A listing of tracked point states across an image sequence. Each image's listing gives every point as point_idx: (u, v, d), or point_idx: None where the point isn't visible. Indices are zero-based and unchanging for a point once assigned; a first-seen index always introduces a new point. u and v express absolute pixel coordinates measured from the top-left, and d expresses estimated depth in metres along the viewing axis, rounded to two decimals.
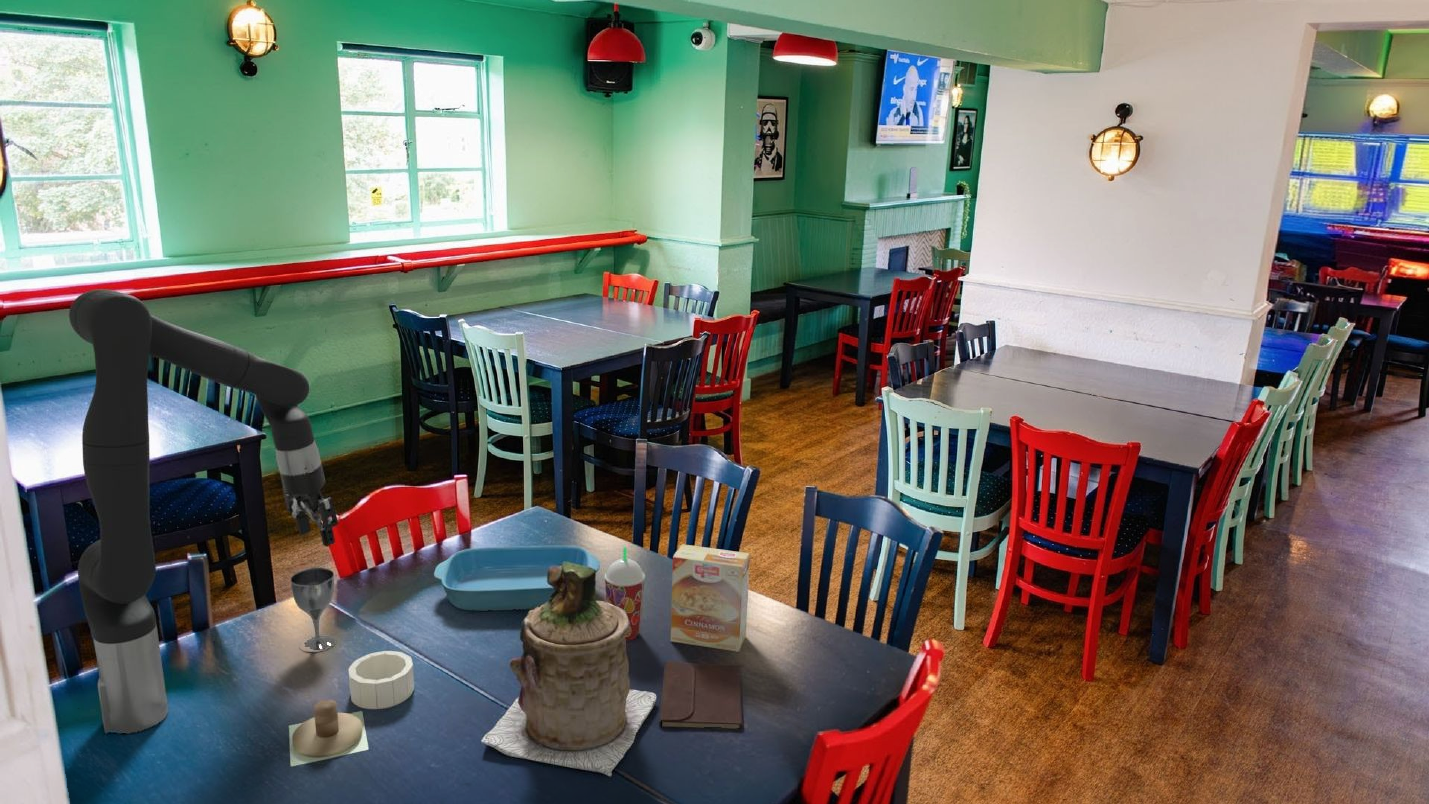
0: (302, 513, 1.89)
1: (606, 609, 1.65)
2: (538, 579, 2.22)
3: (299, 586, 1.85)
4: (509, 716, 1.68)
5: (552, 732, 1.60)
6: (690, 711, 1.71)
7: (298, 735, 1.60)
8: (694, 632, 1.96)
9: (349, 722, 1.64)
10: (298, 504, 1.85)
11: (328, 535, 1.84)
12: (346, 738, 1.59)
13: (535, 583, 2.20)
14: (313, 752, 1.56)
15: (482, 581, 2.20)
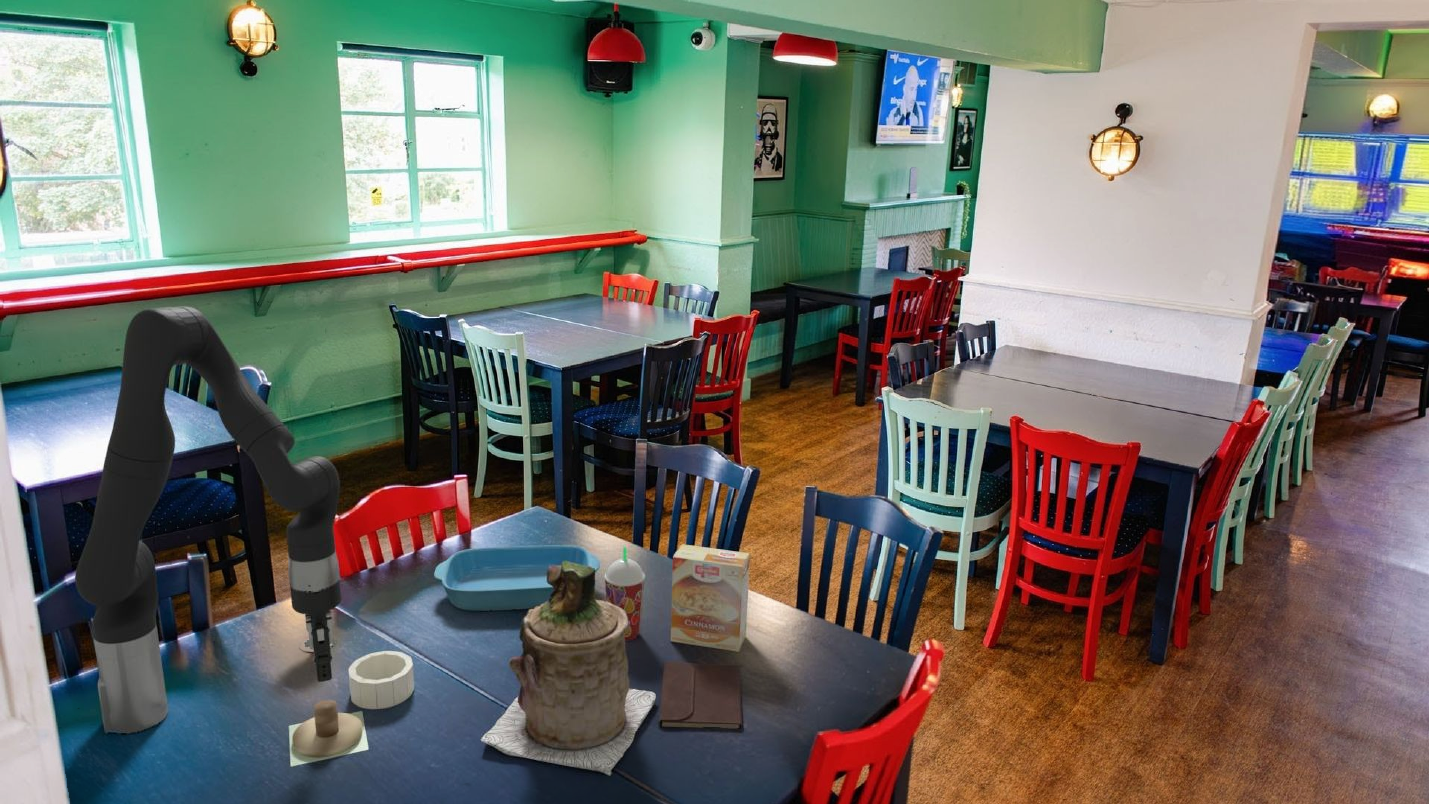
0: None
1: (605, 608, 1.66)
2: (538, 579, 2.22)
3: None
4: (509, 716, 1.68)
5: (551, 731, 1.60)
6: (690, 711, 1.71)
7: (298, 735, 1.60)
8: (694, 632, 1.96)
9: (349, 722, 1.64)
10: None
11: (321, 670, 1.53)
12: (346, 738, 1.59)
13: (535, 583, 2.20)
14: (313, 752, 1.56)
15: (482, 581, 2.20)
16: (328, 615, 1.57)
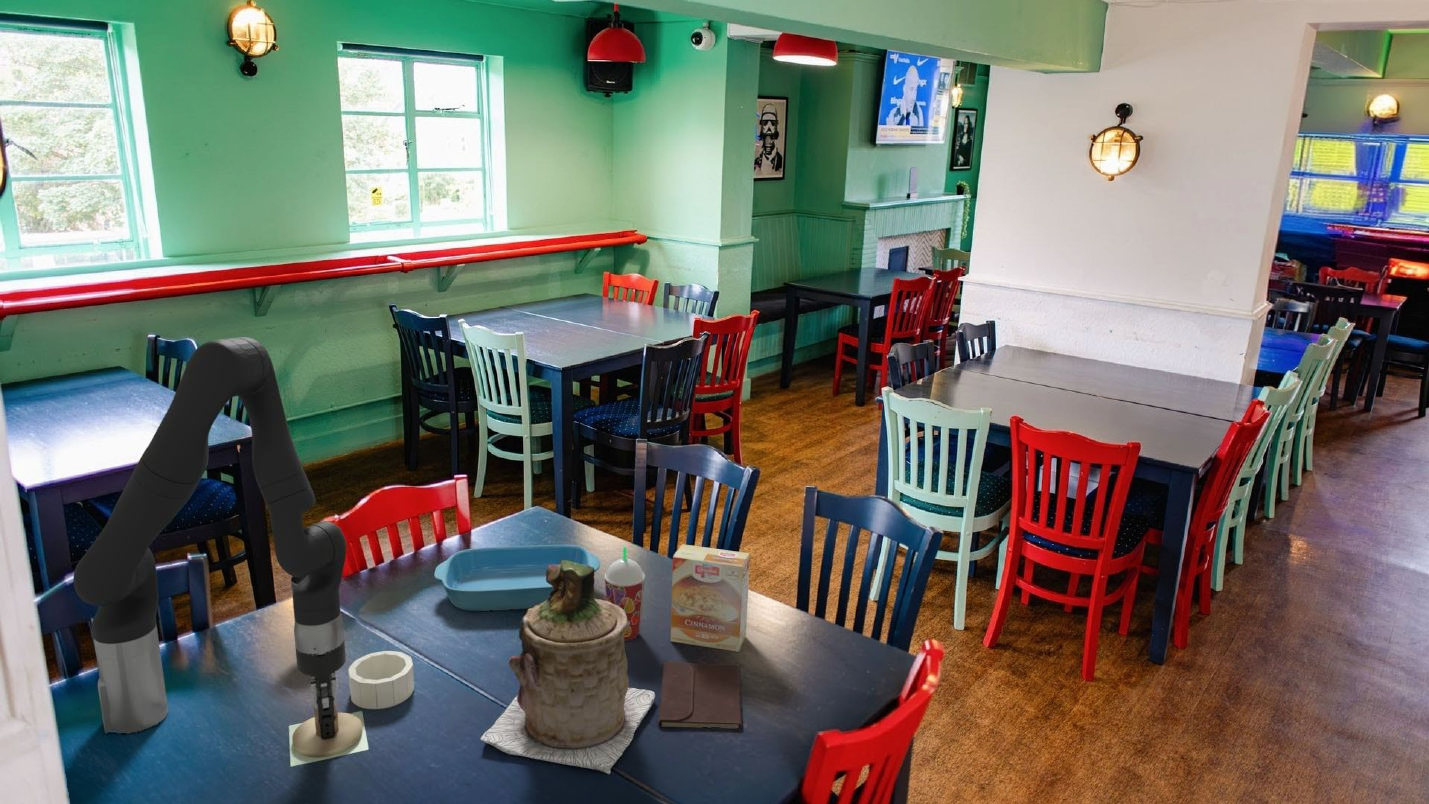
0: None
1: (605, 607, 1.66)
2: (538, 578, 2.22)
3: None
4: (508, 715, 1.69)
5: (550, 730, 1.61)
6: (689, 711, 1.71)
7: (298, 735, 1.60)
8: (694, 632, 1.96)
9: (349, 722, 1.64)
10: None
11: (325, 728, 1.58)
12: (346, 738, 1.59)
13: (535, 582, 2.20)
14: (313, 752, 1.56)
15: (482, 581, 2.20)
16: (332, 674, 1.60)
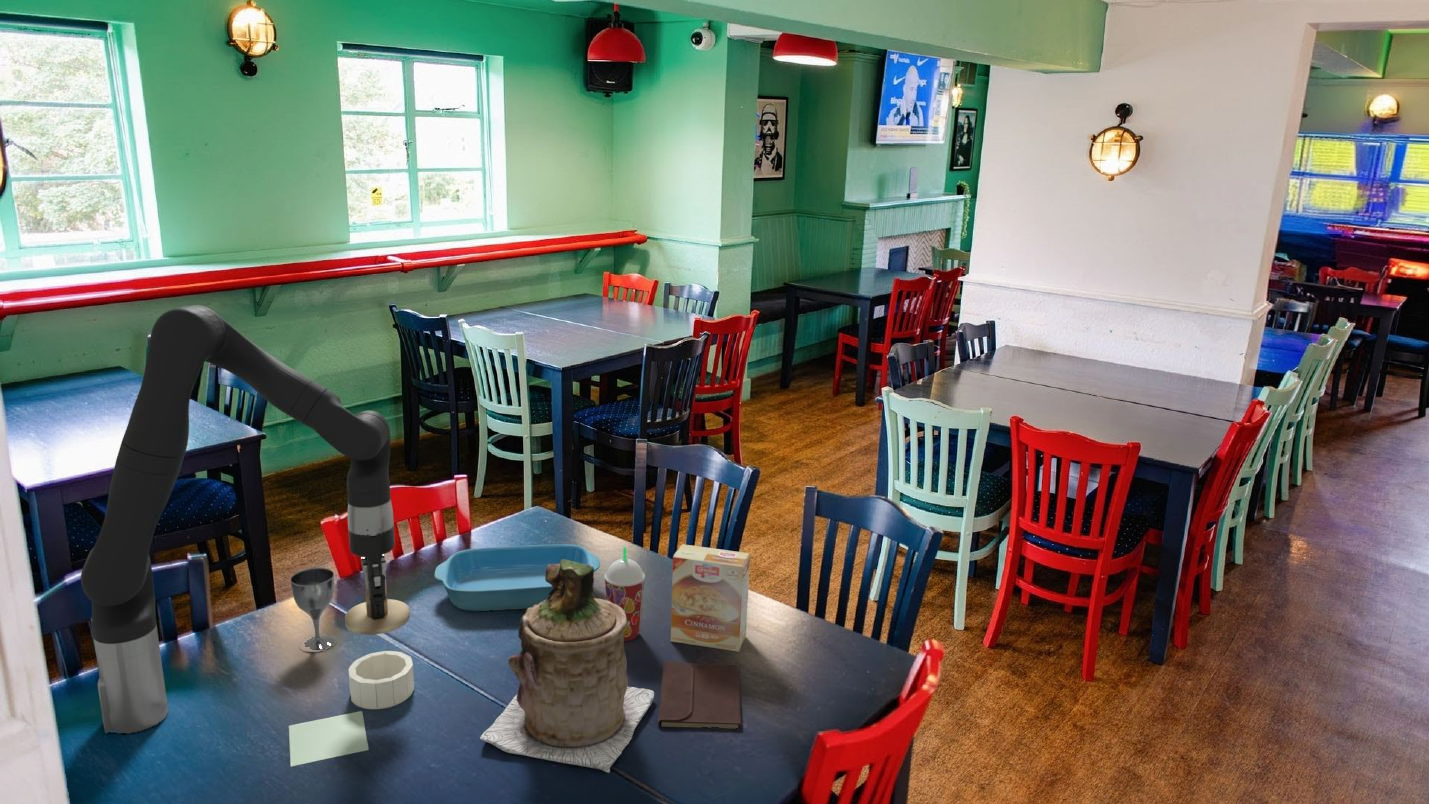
0: None
1: (604, 606, 1.66)
2: (537, 578, 2.22)
3: (299, 586, 1.85)
4: (508, 714, 1.69)
5: (550, 729, 1.61)
6: (689, 711, 1.71)
7: (350, 616, 1.69)
8: (694, 632, 1.96)
9: (397, 606, 1.73)
10: None
11: (375, 608, 1.67)
12: (395, 618, 1.69)
13: (535, 582, 2.20)
14: (365, 629, 1.66)
15: (481, 581, 2.20)
16: (382, 558, 1.69)
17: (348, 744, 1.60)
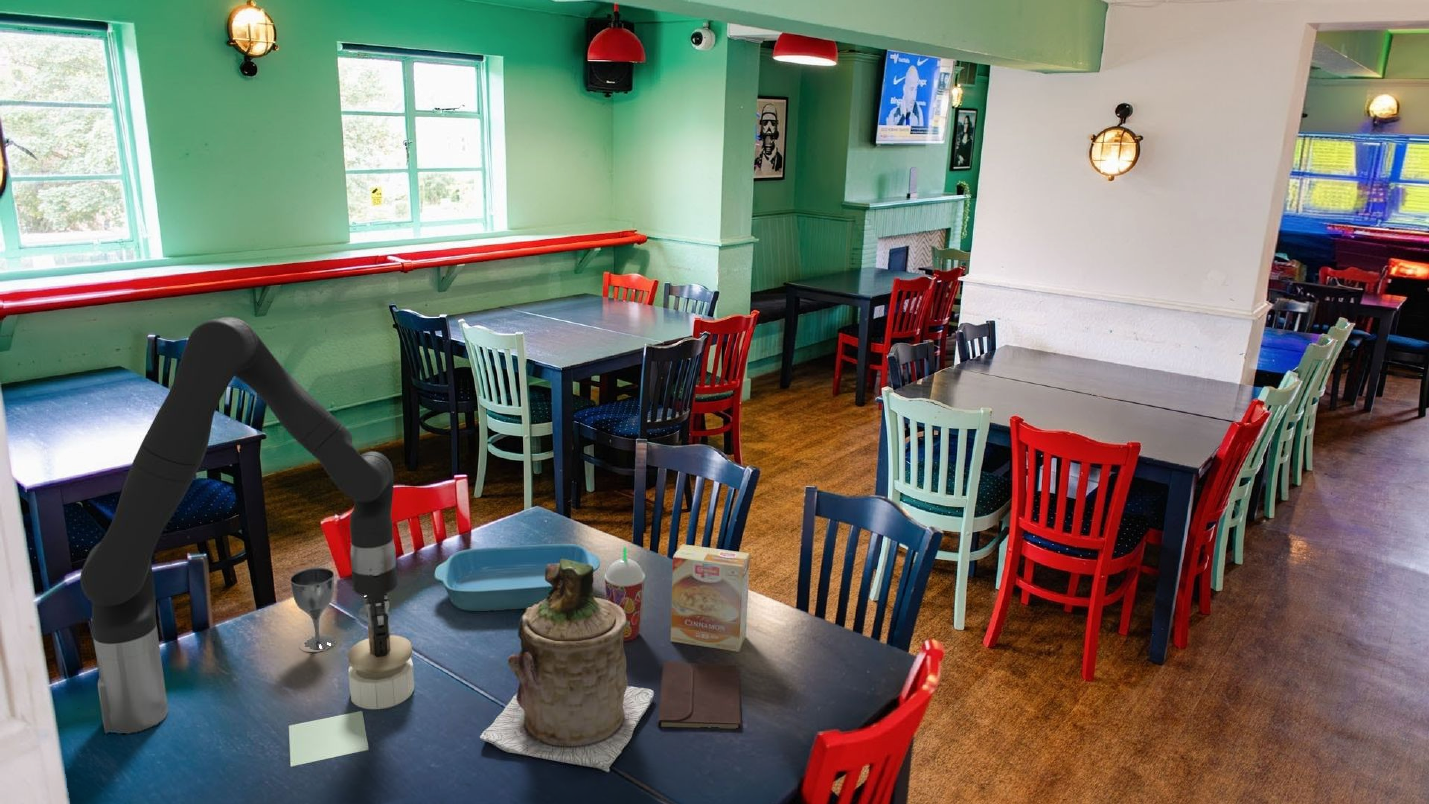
0: None
1: (604, 606, 1.67)
2: (537, 578, 2.22)
3: (299, 586, 1.85)
4: (507, 713, 1.69)
5: (550, 728, 1.61)
6: (689, 711, 1.71)
7: (353, 653, 1.72)
8: (694, 632, 1.96)
9: (399, 643, 1.76)
10: None
11: (378, 646, 1.69)
12: (398, 656, 1.71)
13: (535, 582, 2.20)
14: (368, 667, 1.68)
15: (481, 581, 2.20)
16: (384, 596, 1.72)
17: (348, 744, 1.60)
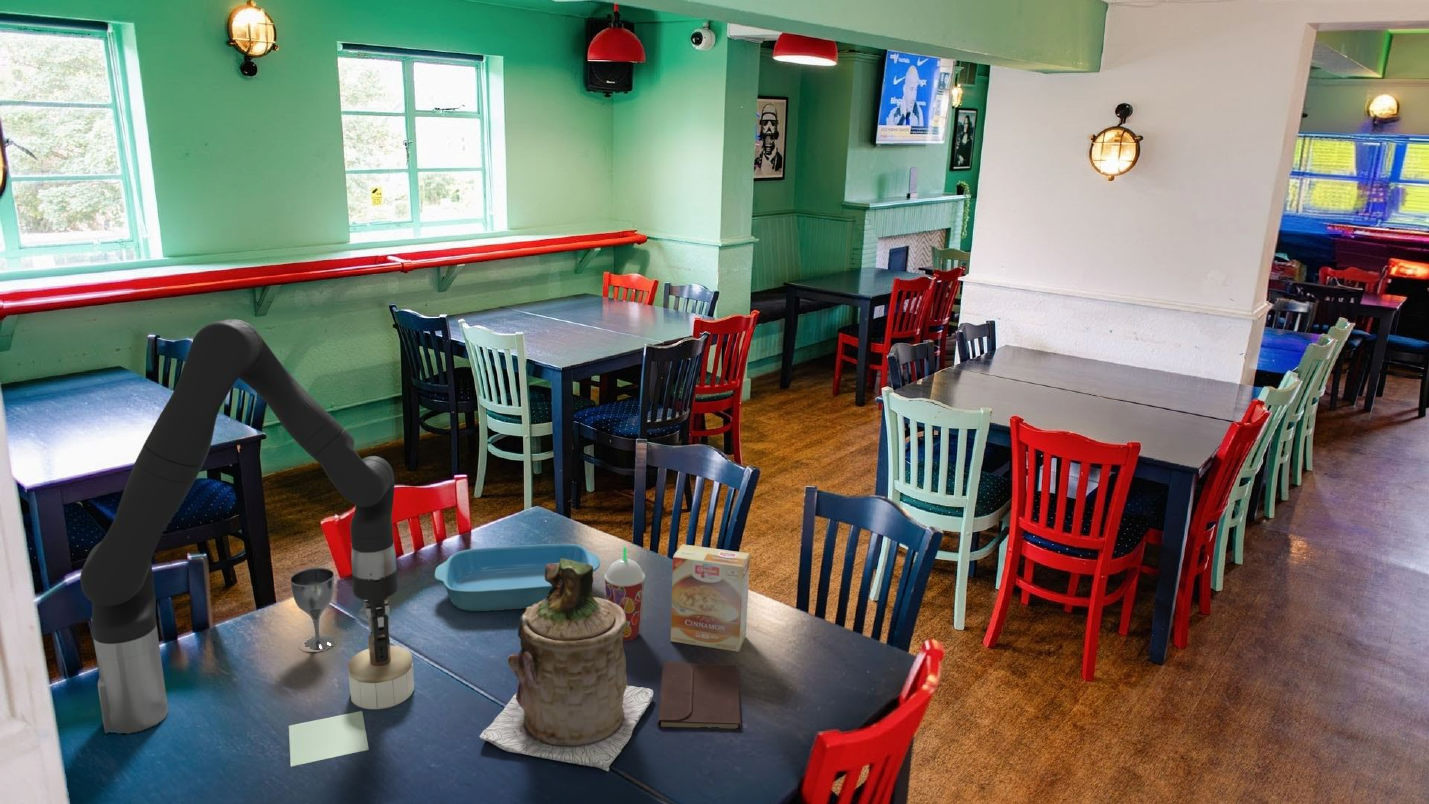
0: None
1: (603, 605, 1.67)
2: (537, 578, 2.22)
3: (299, 586, 1.85)
4: (507, 712, 1.69)
5: (549, 728, 1.61)
6: (688, 711, 1.71)
7: (353, 664, 1.72)
8: (694, 632, 1.96)
9: (400, 653, 1.76)
10: None
11: (379, 651, 1.68)
12: (398, 666, 1.72)
13: (535, 582, 2.20)
14: (369, 678, 1.68)
15: (481, 582, 2.20)
16: (385, 601, 1.72)
17: (348, 744, 1.60)
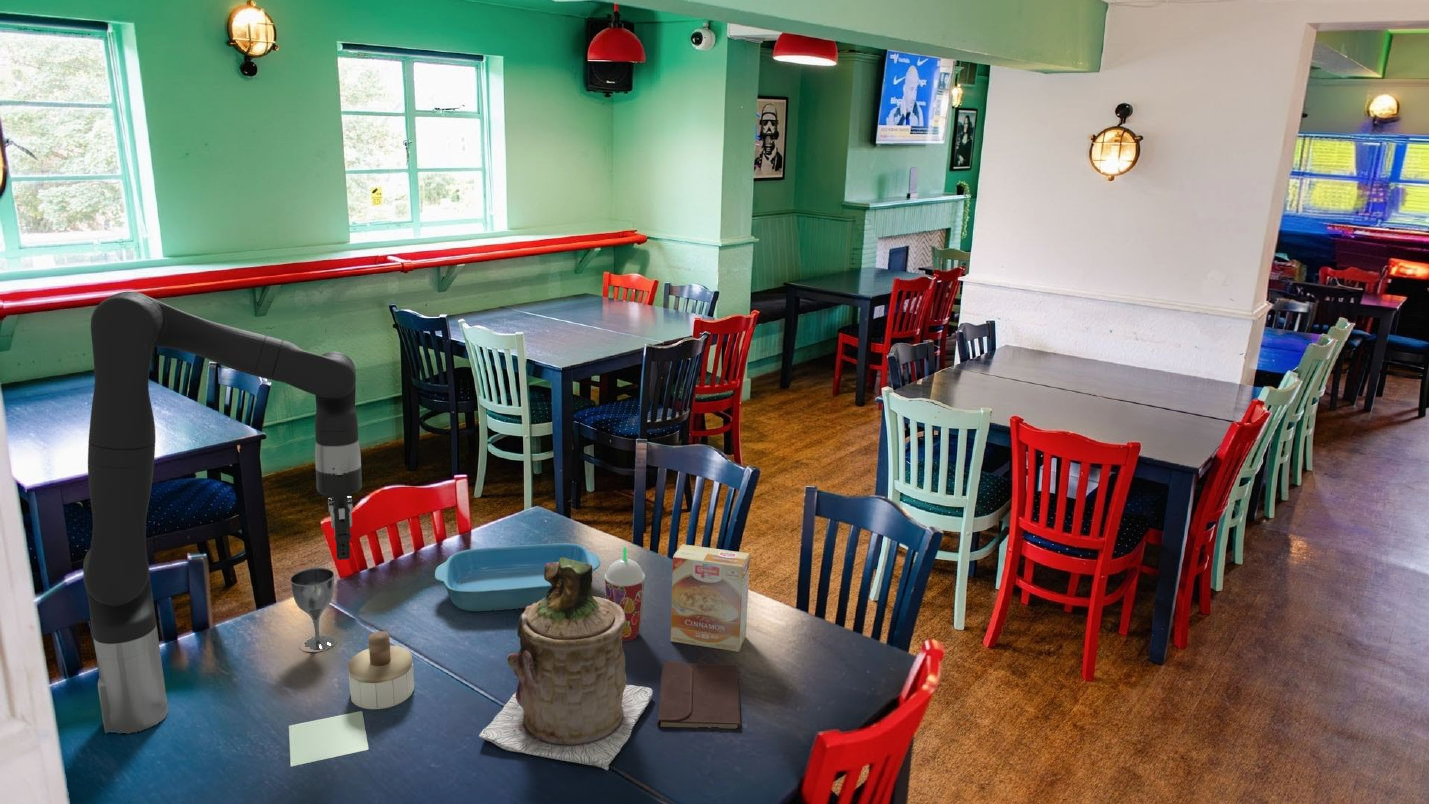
0: None
1: (603, 605, 1.67)
2: (537, 577, 2.22)
3: (299, 586, 1.85)
4: (507, 711, 1.70)
5: (549, 727, 1.61)
6: (688, 711, 1.71)
7: (353, 664, 1.72)
8: (694, 632, 1.96)
9: (400, 653, 1.76)
10: None
11: (341, 548, 1.67)
12: (398, 666, 1.72)
13: (535, 581, 2.21)
14: (369, 678, 1.68)
15: (481, 582, 2.20)
16: (349, 501, 1.71)
17: (348, 744, 1.60)
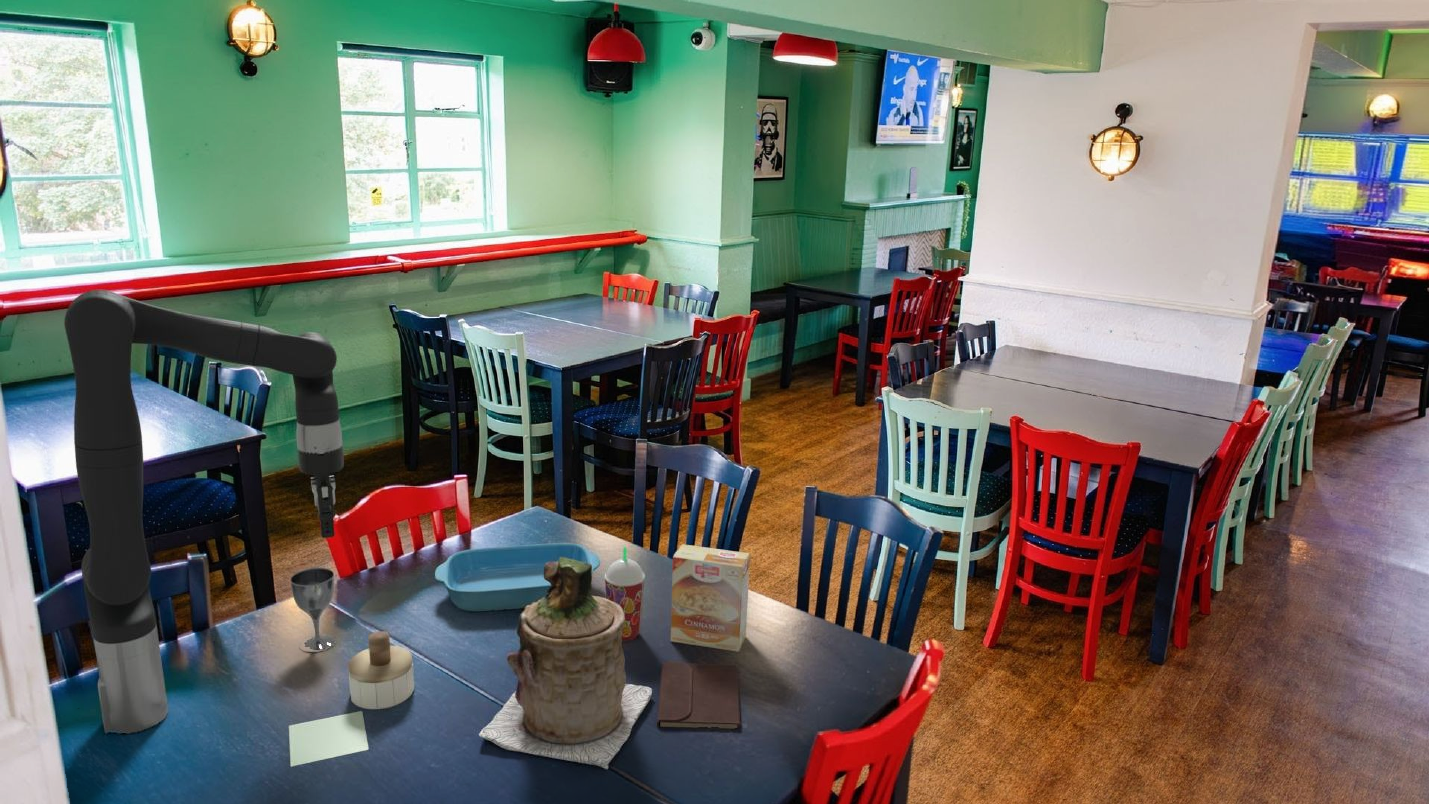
0: None
1: (602, 604, 1.67)
2: (537, 577, 2.22)
3: (299, 586, 1.85)
4: (506, 711, 1.70)
5: (548, 726, 1.62)
6: (688, 711, 1.71)
7: (353, 664, 1.72)
8: (694, 632, 1.96)
9: (400, 653, 1.76)
10: None
11: (325, 526, 1.69)
12: (398, 666, 1.72)
13: (535, 581, 2.21)
14: (369, 678, 1.68)
15: (481, 582, 2.20)
16: (332, 480, 1.73)
17: (348, 744, 1.60)
